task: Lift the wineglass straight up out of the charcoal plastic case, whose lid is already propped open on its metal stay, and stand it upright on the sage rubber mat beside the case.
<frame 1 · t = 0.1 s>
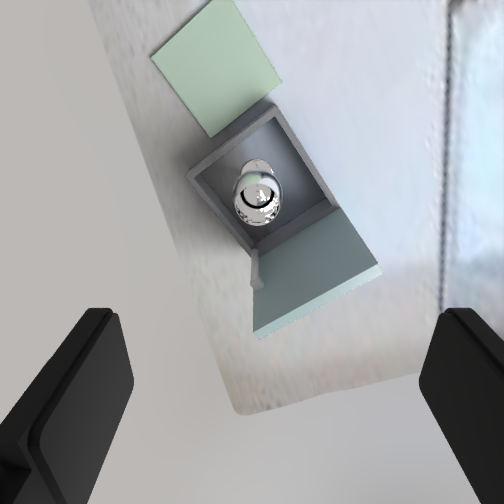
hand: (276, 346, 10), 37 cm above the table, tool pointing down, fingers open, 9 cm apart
case: (263, 184, 45), on the table
mat: (217, 70, 39), on the table
wineglass: (257, 175, 45), resting in case
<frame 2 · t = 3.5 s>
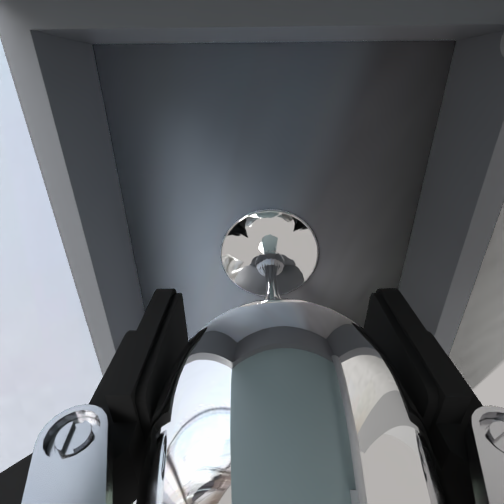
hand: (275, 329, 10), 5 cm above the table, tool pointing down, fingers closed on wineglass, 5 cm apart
case: (269, 224, 14), on the table
wineglass: (269, 253, 15), resting in case, touching gripper
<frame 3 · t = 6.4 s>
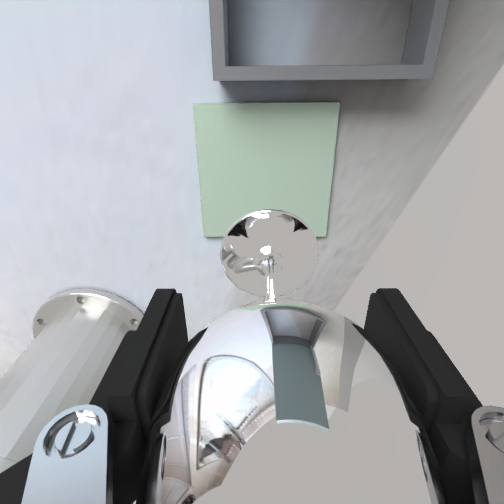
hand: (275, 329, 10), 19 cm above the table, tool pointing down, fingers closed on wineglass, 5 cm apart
mat: (265, 174, 27), on the table
wineglass: (269, 253, 15), point 14 cm above the table, touching gripper
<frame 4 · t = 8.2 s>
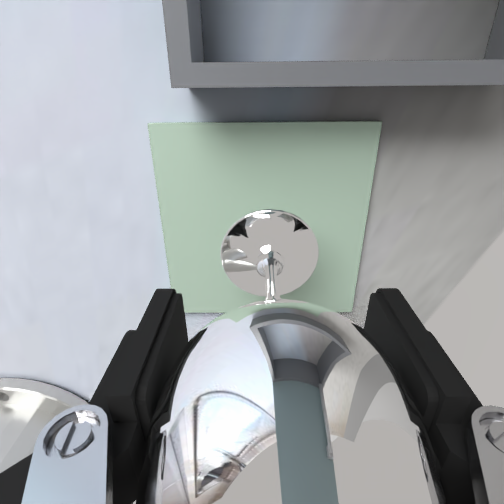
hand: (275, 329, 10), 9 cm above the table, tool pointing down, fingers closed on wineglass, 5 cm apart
mat: (263, 227, 18), on the table
wineglass: (269, 253, 15), point 3 cm above the table, touching gripper
when the fingers open (6 cm above the table, at t = 9.6 s): wineglass stays where it is, resting on mat.
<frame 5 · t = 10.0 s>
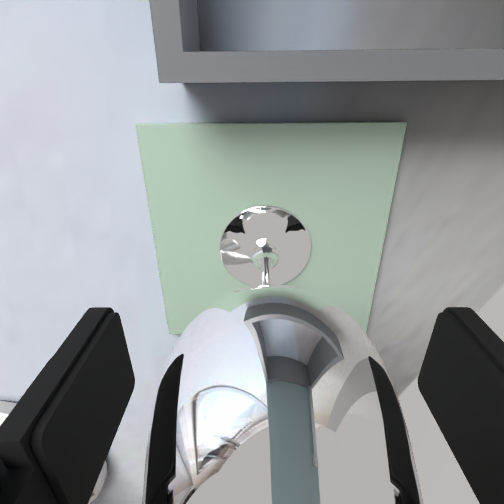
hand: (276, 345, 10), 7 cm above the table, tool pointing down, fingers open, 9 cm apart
mat: (268, 242, 16), on the table
wineglass: (264, 246, 16), resting on mat
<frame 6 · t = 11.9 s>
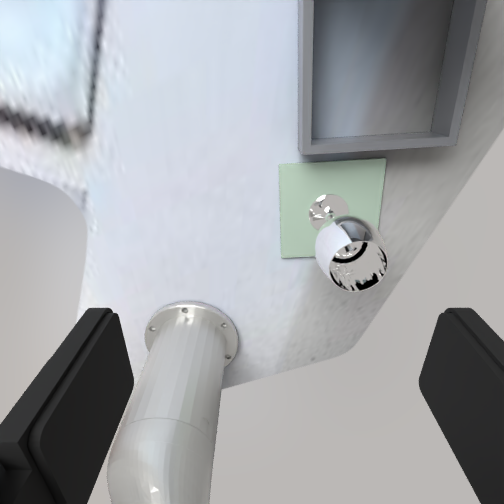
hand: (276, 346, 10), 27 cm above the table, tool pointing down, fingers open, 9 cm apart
case: (375, 58, 30), on the table
mat: (329, 210, 37), on the table
wineglass: (328, 212, 37), resting on mat
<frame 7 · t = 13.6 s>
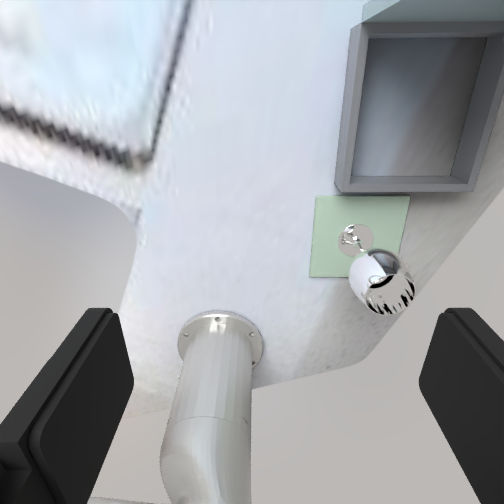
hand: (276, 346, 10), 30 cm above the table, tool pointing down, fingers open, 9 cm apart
case: (408, 113, 35), on the table
mat: (356, 237, 41), on the table
wineglass: (354, 239, 41), resting on mat
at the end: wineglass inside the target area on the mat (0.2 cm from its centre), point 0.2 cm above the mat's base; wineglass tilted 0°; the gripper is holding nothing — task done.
